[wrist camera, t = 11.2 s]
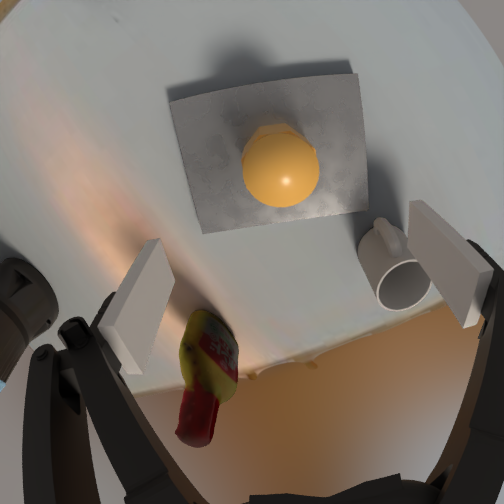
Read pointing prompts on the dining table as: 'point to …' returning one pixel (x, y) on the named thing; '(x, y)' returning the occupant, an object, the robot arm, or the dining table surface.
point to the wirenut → (279, 166)
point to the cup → (392, 267)
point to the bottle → (205, 376)
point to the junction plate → (269, 113)
